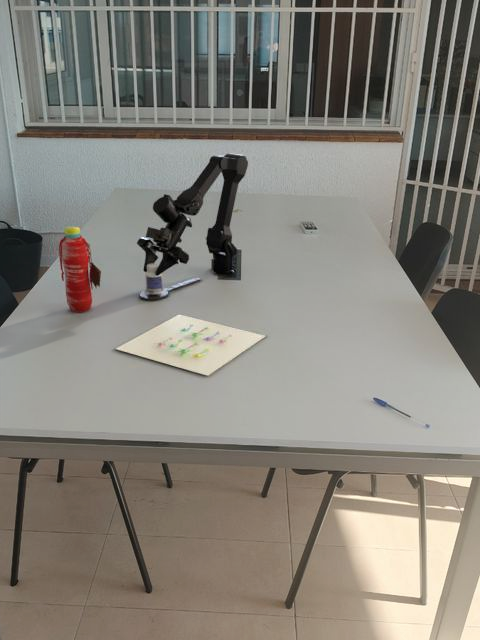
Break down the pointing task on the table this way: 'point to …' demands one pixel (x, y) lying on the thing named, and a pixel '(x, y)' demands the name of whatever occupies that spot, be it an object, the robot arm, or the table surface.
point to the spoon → (167, 290)
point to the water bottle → (77, 270)
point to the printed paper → (191, 344)
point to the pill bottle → (153, 280)
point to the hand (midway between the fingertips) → (150, 273)
